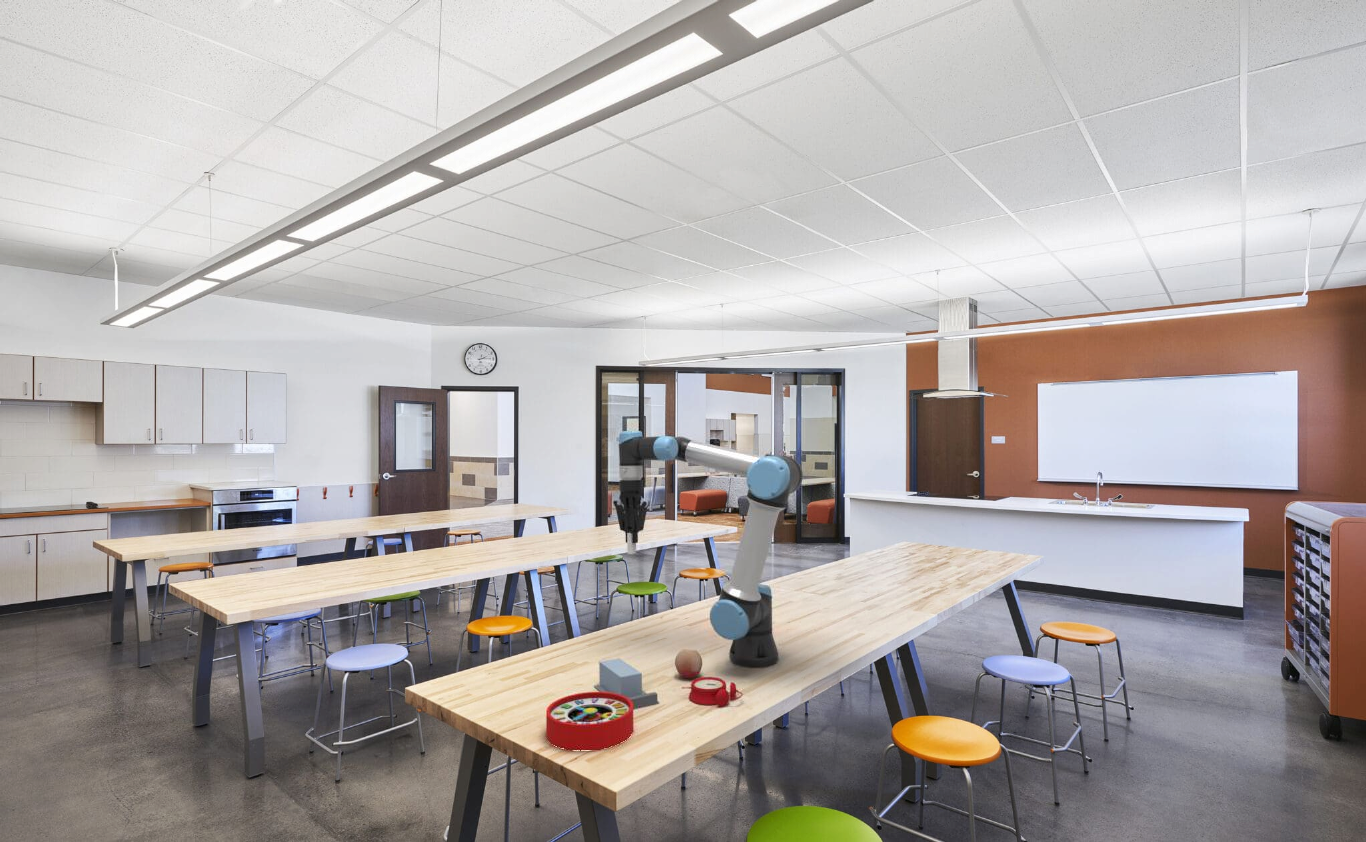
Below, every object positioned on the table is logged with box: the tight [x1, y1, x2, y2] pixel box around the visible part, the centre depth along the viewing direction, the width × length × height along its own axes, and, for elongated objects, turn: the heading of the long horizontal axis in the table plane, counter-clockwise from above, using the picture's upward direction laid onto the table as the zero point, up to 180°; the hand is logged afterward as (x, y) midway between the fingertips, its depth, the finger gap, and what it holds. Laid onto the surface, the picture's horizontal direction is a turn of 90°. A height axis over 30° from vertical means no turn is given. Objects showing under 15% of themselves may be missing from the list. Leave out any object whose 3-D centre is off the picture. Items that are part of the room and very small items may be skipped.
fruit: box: [674, 648, 703, 680], centre depth 189 cm, size 8×8×8 cm
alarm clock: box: [681, 676, 744, 707], centre depth 172 cm, size 10×6×15 cm
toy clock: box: [545, 691, 634, 751], centre depth 153 cm, size 20×6×20 cm
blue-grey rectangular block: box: [598, 658, 643, 698], centre depth 178 cm, size 6×6×15 cm
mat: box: [593, 684, 660, 710], centre depth 175 cm, size 20×10×2 cm, turn 29°
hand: (631, 553), depth 210 cm, fingers closed
